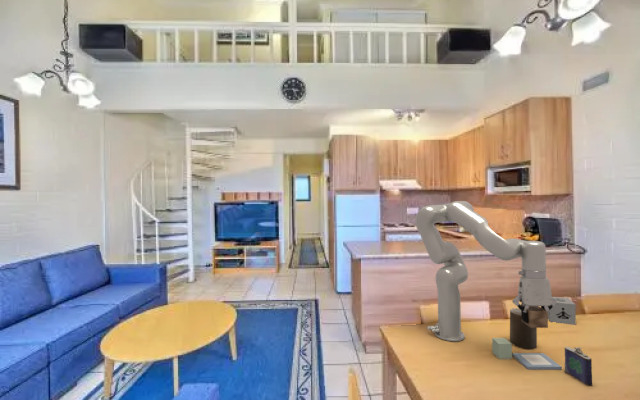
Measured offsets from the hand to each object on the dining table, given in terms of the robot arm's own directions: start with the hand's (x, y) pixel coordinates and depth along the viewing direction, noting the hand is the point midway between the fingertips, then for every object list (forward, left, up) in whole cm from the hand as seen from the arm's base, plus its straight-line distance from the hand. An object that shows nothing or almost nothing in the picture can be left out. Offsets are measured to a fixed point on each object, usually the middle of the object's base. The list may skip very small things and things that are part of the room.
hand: (534, 321), depth 120 cm
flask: (+8, -10, -16) cm, 21 cm away
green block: (-9, +5, -16) cm, 19 cm away
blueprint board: (+1, 0, -16) cm, 16 cm away
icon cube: (+38, +42, -16) cm, 58 cm away
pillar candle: (+5, +15, -16) cm, 23 cm away
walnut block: (0, 0, -1) cm, 1 cm away
